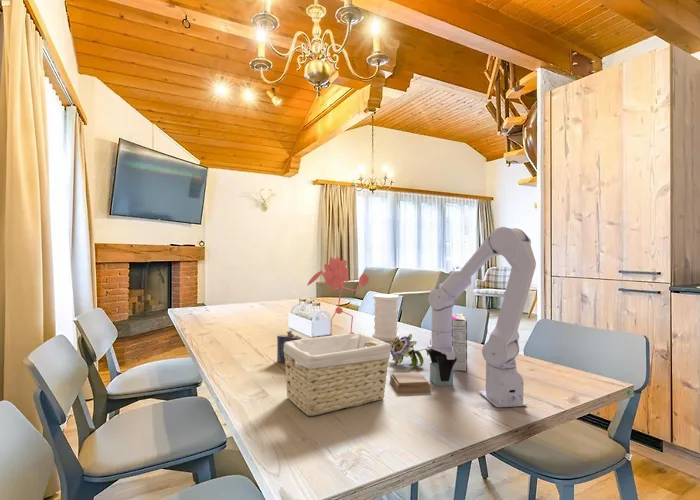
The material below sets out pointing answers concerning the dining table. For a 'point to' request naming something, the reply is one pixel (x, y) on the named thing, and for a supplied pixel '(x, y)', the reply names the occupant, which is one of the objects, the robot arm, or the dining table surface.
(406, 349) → the passion flower
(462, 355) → the candy bar box
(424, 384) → the square coaster
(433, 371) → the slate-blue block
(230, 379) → the dining table surface
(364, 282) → the figurine
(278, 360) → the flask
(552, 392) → the dining table surface
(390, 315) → the decorative container
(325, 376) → the storage basket
